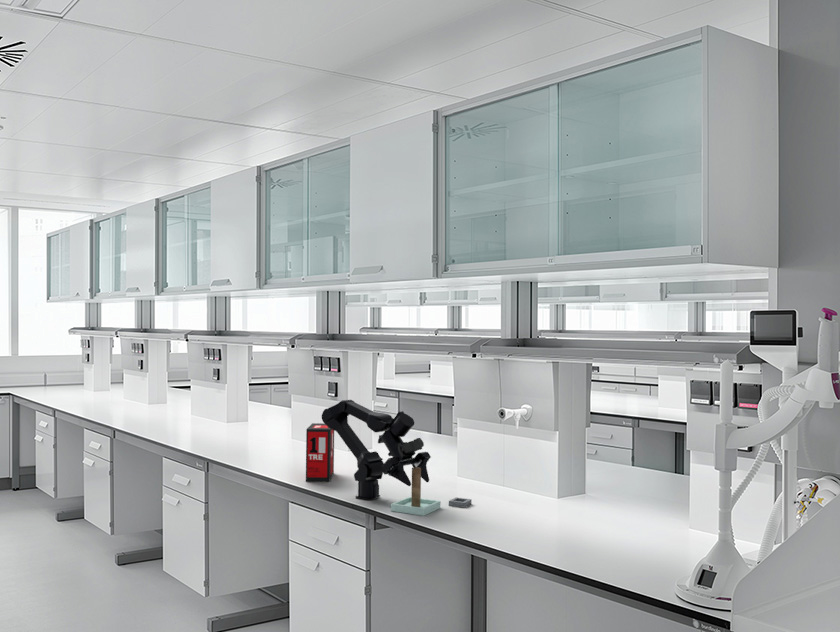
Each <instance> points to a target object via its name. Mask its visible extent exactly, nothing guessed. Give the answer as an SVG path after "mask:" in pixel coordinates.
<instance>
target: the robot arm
mask: <svg viewBox="0 0 840 632" xmlns="http://www.w3.org/2000/svg"><path fill="white" fill-rule="evenodd" d="M349 416H352V417H355V418H357V419H358V420H360V421H362V422H364V423H365V424H366V427H368V429H370V430H371V431H373V433H382V432H383V433H382V434H378V439H377V444H384V446H385V447H386V448H387V450H388V453H387V455H388V456H389V458H387V459H386V461H385V462H384V461H383V460H384V459H383V458H382V457H381V456H380V455H379V452H377V451H369V450H368V449H367V447H366V445H364V443H363V442H362V441H361V439H360V438H359V436H358V435H357V434H356V432H355V431H354V430H353V428H352V427H351V426H350V425H349ZM321 420H322V422H323V424H326V425H327V426H328V427H329V428H331V429H333V430H334V432H336V433H337V434H338V435H339V437H340V438H341V440H342V442H343V443H344V444H345V445H346V446H347V448H348V449H349V451H350V452H351V453H352V455H353V456H354V458H355V459H356V462H357V463H356V465H357V470H356V471H355V472H354V474H353V478H354V481H355V482H358V483H357V495H356V496H355V499H361V500H368V501H372V500H375V499H378V498H380V497H381V494H380V484H379V480H382V478H383V475H384V476H385V475H388V476H389V477H392V478H394V479H396V480H398V481H400V482H401V483H403V484H404V485H406V486H408V487H412V481H411V480H410V479H409V476H408V475H407V473H406V471H405V469H404V468H405V466H409V465H411V466H412V468H413V467H420V468H421V479H422V480H423V481H425V483H429V482H430V477H429V471H428V469H427V463H428V462H429V461H430V459H431V458H432V456H431V455H430V453H429V451H422V452H418V451H420V450H423V447H424V446H425V444H424V443H425V442H424V441H423V440H422V438H421V437H417V438H414V439H413V440H410V441H405V442H404V440H403V439H402V438H403V437H406V435H407V434H408V433H409V432H410V430H411V429H412V428H413V427H414V425H415V421H414V418H413V417H411V416H410V415H408V414H407V413H405V412H404V411H403V410H401V411H398V412H397V413H396V415H395V417H394V418H393V417H392V415H391V414H388V413H385V412H378V411H377V412H376V411H373V410H371V409H369V408H367V407H365V406H363V405H361V404H359V403H357V402H355V401H354V400H352V399H344V400H341V401H339V402H338V403H336V404H335V405H332V406H330V407H328V408H325V409H324V410H323V411H322V413H321ZM416 452H418V453H417V454H416ZM413 456H414V457H413Z"/></svg>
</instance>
